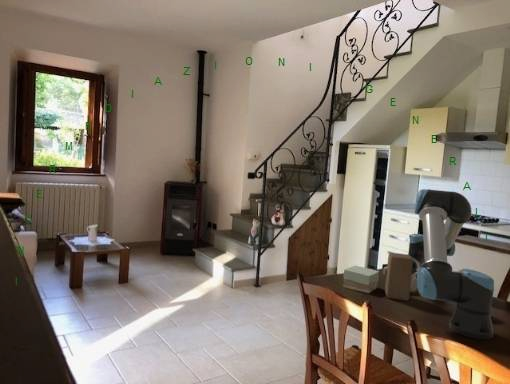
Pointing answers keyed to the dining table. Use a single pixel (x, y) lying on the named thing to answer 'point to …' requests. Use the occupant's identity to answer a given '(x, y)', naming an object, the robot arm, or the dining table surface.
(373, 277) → the tower top slab
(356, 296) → the dining table surface
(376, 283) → the tower base slab
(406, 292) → the block
